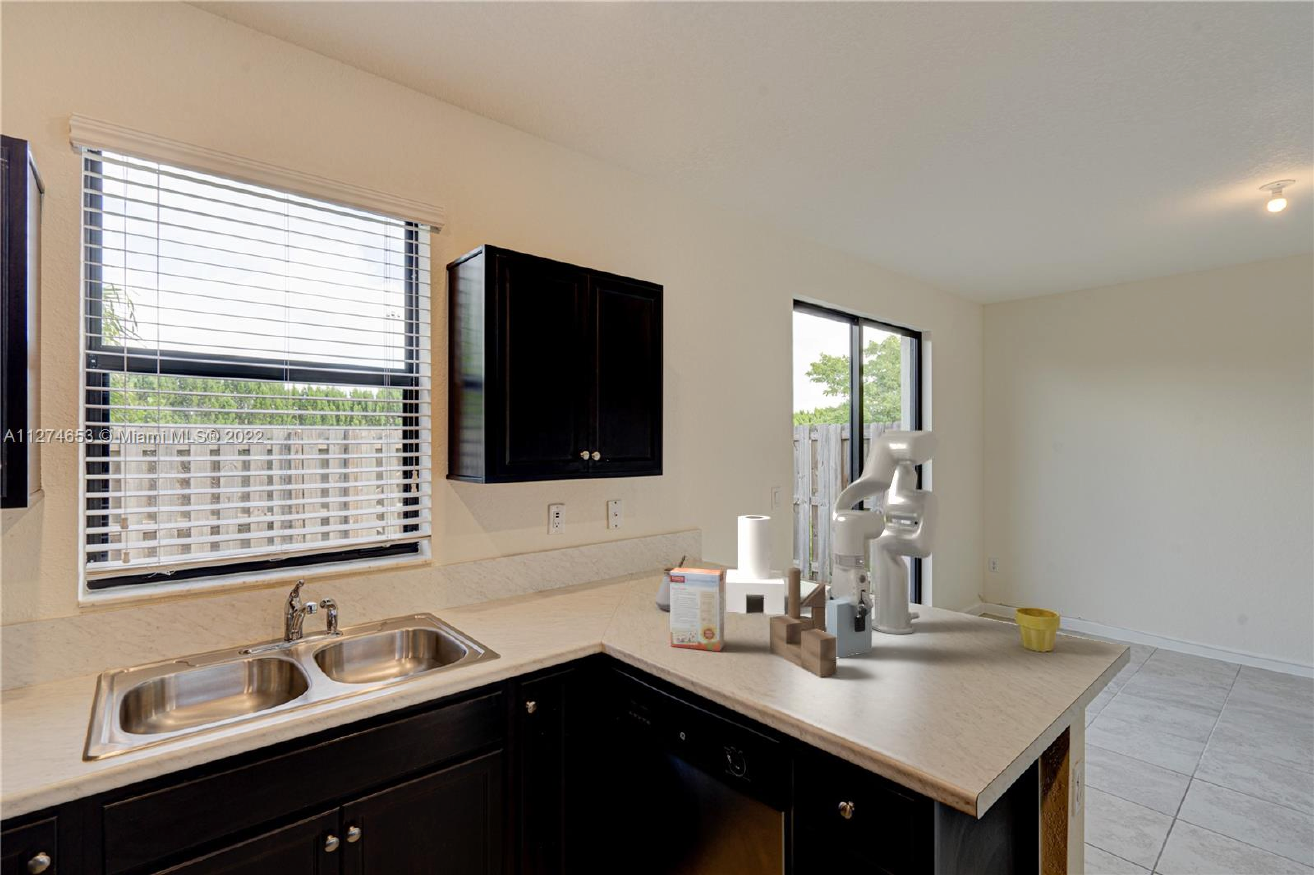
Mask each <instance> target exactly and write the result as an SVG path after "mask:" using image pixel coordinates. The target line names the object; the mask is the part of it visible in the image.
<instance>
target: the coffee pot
mask: <svg viewBox="0 0 1314 875" xmlns="http://www.w3.org/2000/svg"><path fill="white" fill-rule="evenodd" d="M686 558H687V559H686ZM688 560H689V558H688V555H687V556H686V554H685V555H684V554H683V556H682V558H681V560H680V561H679V563H678V566H677V568H683V564H684V561H688ZM675 568H676V567H668V568H663V569H662V572H663V575H664V577H663V578H662V581H661V583H660V585H659V588H658V591H657V593H656V596H655V598H654V601H655V604H656V606H657V607H658V608H660V610H661V611H664V612H670V571H672V570H674V569H675Z"/></svg>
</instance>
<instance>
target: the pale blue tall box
mask: <svg viewBox="0 0 1314 875" xmlns="http://www.w3.org/2000/svg"><path fill="white" fill-rule="evenodd" d="M870 600H871V602H872V603H873V601H872V600H873V599H872V598H870ZM872 609H873V608H872ZM872 609H871V610H870V612H869V613H868V614H867V616H865V631H862V632H855V630H854V618H855V617H856V613H855V610H854V607H853V606H851V605H849V603H848V602H845V601H842V600H839V599H835V600H830V599H829V600H826V633H828V634H831V635H833V636H835V637H836V657H841V658H845V657H844V656H846V657H849V656H848V655H851V656H853V655H852V654H856V653H860V654H865V653H869V651H870V652H872V651H873V648H872V644H873V643H872V637H873V636H872V634H873V633H872V632H873V631H872V630H873V628H872V619H873V617H872V616H873V614H872V612H873V610H872ZM859 610H860V611H861V608H860V607H859ZM864 652H865V653H864ZM856 655H857V654H856Z"/></svg>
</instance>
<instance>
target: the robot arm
mask: <svg viewBox="0 0 1314 875" xmlns="http://www.w3.org/2000/svg"><path fill="white" fill-rule="evenodd" d="M939 448H940V442H939V437H938V435H937V434H936V433H935V432H934V431H931V430H890V431H887V432H884V433H883V434H881V436H879V437H877V438H876V439H875V440H874V441H873V442H872V444H871V447H870V450H869V452H868V456H867V459H866V461H865V463H864V467H863V471H862V473H861V475H860V477H859V478H857V479H856V480H855V481H853V482H851V483H850V484H849V485H848V486H847V487H846V488H845V489H844V490H842V492H841V493H840V494H839V495H838V497H837V498H836V501H835V503H834V506H833V509H832V512H831V517H830V528H831V531H832V532H833V534H834V563H833V567H832V572H831V582H830V584H831V585H830V587H829V588H828V589H827V590H826V593H827V596H828V598H829V600H835V599H839V600H842V601H845V602H848V603H849V605H851V606H853V607H854V610H855V613H856V617H855V618H854V630H855V632H862V631H865V616H867V614H868V613H869V612H870V610H871V609H873V608H874V618H872V630H874V631H877V632H880V633H886V634H894V635H895V634H897V635H904V634H905V635H906V634H911V633H913V632H914V631H915V625H914V624H913V623H912V620H916V619H919V618H920V613H919V612H917V611H914V612H910V611H909V601H910V600H909V596H910V594H909V588H910V586H909V584H910V583H909V578H910V577H909V568H908V566H907V563H906V562H905V560H904V559H903V557H909V558H915V559H916V558H918V559H927V558H929V557H931V555H932V554H933V551H934V548H935V543H936V537H937V531H938V529H937V528H938V523H939V517H940V509H941V508H940V500H939V498H938V496H937V494H936V493H935V492H933V491H930V490H925V489H917V482H918V474H917V472H916V470H915V469H914V467H913V466H919V465H922V464H925V463H926V462H928V461H930V460H932V459H934V458H935V457H936V456H937V455H938V452H939ZM883 493H884V494H883ZM880 494H883V501H882V512H883V514H884V516H886V517H887V518H889V519H892V520H897V521H907V522H917V524H913V523H904V522H896V521H893V522H892V521H885V519H884V517H883V516H882V515H881V514H879V513H878V512H874V511H867V510H860V509H859V510H857V509H852V508H853V507H855V505H856V504H858V503H860V502H861V501H864V500H866V499H869V498H871V497H875V496H877V495H880ZM865 540H871V546H872V551H873V559H874V603H873V601H872V602H871V600H870V599H871V597H870V596H871V594H870V593H871V592H870V583H869V575H868V571H867V567H865V564H866V560H865ZM859 607H860V608H861V611H860V610H859Z"/></svg>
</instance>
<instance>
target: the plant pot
mask: <svg viewBox="0 0 1314 875" xmlns="http://www.w3.org/2000/svg"><path fill="white" fill-rule="evenodd" d="M1060 617H1061V616H1060V614H1059V612H1056V611H1054V610H1052V609H1051V610H1050V609H1048V608H1040V607H1033V606H1022V607H1017V608H1015V610H1014V619H1015V623H1016V624H1017V626H1018V629H1019V633H1020V636H1021V641H1022V646H1023V647H1024V648H1025V649H1027V648H1028V649H1027V650H1029V649H1031V650H1030V651H1033V650H1035V651H1034V652H1039V651H1041V653H1047V652H1046V651H1049V652H1051V651H1053V647H1054V643H1055V638H1056V633H1057V630H1058V629H1059V628H1060V627H1061V618H1060Z"/></svg>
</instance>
